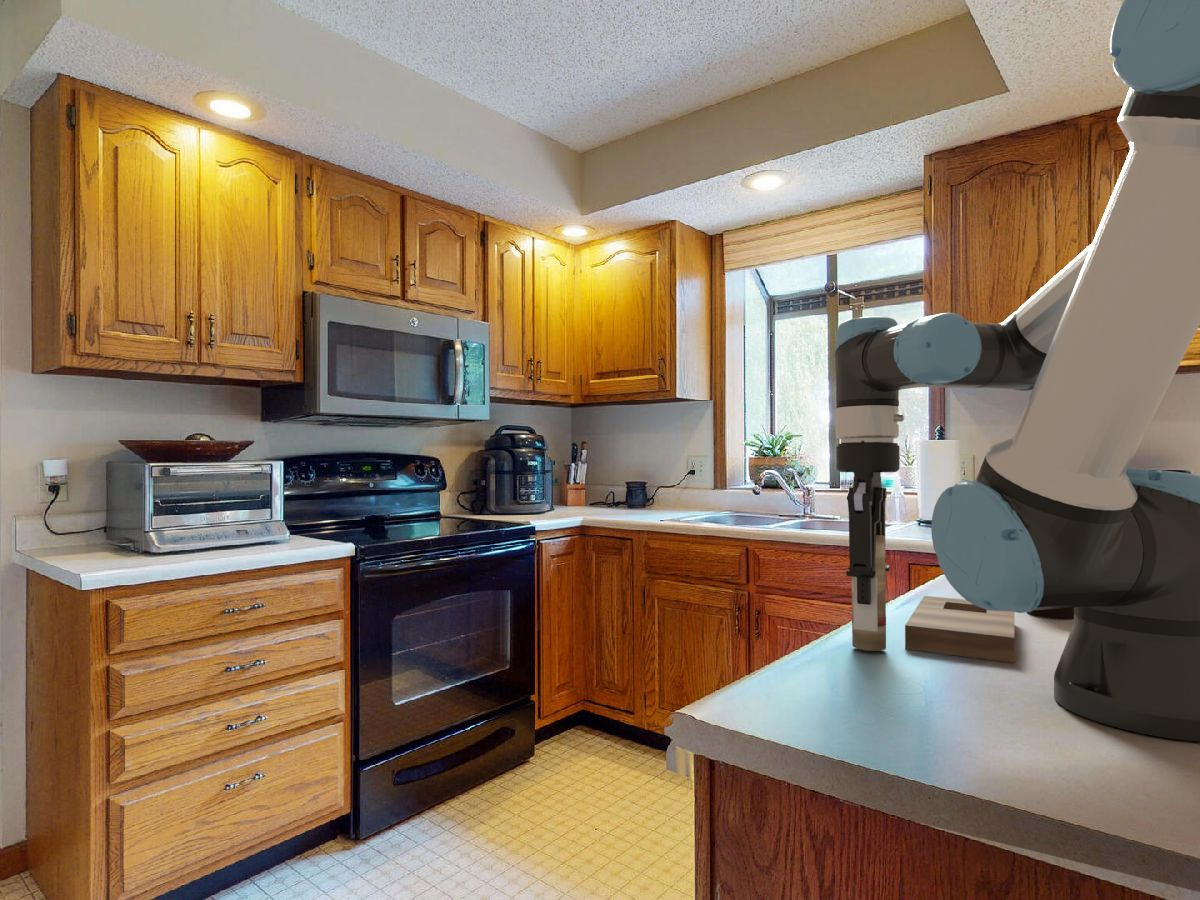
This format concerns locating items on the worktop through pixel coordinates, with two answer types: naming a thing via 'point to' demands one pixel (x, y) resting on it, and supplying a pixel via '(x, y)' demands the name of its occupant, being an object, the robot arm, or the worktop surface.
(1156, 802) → the worktop surface
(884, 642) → the peg
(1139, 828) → the worktop surface
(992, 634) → the socket board
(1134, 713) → the robot arm
